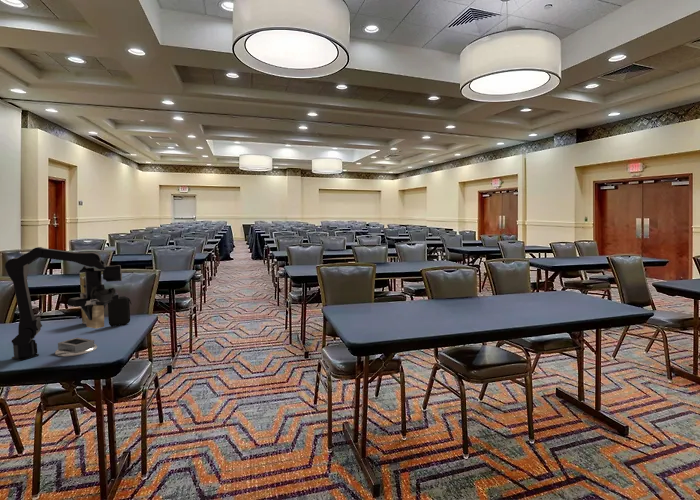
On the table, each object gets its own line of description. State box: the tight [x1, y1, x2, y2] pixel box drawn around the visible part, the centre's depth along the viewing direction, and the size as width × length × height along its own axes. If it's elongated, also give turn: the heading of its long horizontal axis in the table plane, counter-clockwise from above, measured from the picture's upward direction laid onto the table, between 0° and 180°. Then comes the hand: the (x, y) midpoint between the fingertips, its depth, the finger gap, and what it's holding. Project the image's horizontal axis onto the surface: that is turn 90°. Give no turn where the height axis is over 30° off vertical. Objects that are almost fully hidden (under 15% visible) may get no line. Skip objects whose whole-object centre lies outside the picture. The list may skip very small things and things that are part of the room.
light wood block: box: [86, 304, 105, 330], centre depth 170 cm, size 4×6×9 cm, turn 67°
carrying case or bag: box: [107, 295, 132, 327], centre depth 208 cm, size 11×3×15 cm, turn 127°
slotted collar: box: [54, 337, 98, 358], centre depth 169 cm, size 14×14×4 cm
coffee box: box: [79, 292, 96, 325], centre depth 212 cm, size 9×6×16 cm
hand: (95, 319), depth 171 cm, fingers closed on light wood block, 3 cm apart
